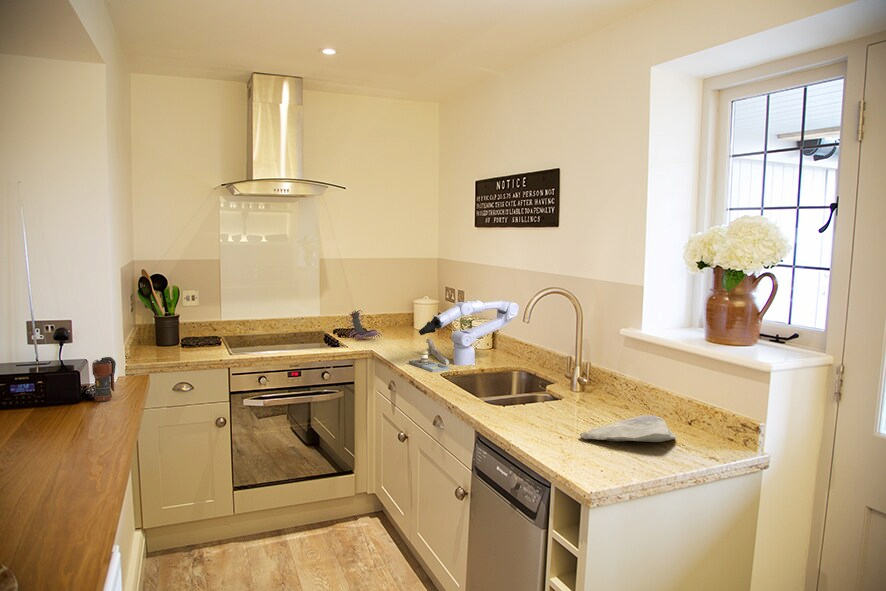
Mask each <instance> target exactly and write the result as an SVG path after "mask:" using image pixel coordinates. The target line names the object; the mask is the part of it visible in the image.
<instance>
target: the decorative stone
mask: <svg viewBox="0 0 886 591" xmlns="http://www.w3.org/2000/svg"><path fill="white" fill-rule="evenodd" d="M579 436H580V438H582V439H585V440H602V441H603V440H606V441H609V442H611V443H612V442H613V443H615V442H632V441H633V442H646V443H661V442H663V443H664V442H666V441H672V440H676V439H677V438H678V437H677V436H676V434H675V433H673V432H672V430H670V428H669V427H668V425H667V423H666V421H665V420H664V419H663V418H662V417H661V416H657V415H653V414H640V415H637V416H635V417H630V418H627V419H626V418H625V419H621V420H617V421H615V422H613V423H612V424H609V425H601V426H600V425H599V426H597V427H594V428H592V429H590V430H589V431H588V432H581V433H580V434H579Z"/></svg>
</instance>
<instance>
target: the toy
mask: <svg viewBox="0 0 886 591" xmlns="http://www.w3.org/2000/svg"><path fill="white" fill-rule="evenodd" d="M361 313H362V314H364V313H363V311H362V310H361V309H359V310H357V311H356V310H354V311H351V313H350V312H349V313H348V314H349V315H350V316H349V317H350V318H351V319H352V320H350V319H348V316H345V318H346V320H347V321H348V322H350V323H352V324H351V325H348V326H347V327H346V328H347V329H349V328H350V327H353V328H354V329H353V330H352V331H351V332H350V333H349V339H350V338H351V337H352V335H354V337H353V339H355V340H360V341H361V340H363V339H365V338H369V337H370V338H371V339H378V338H379V339H380V338H381V337H383V335H382V334H381V332H378V331H377V330H376V329H370V330H368V331H365V330H364V328H363V327H364V325H363V324H362V323H360V322H361V321H362V320H363V319H364V318H363V316H362V315H361ZM360 317H361V319H360ZM355 334H356V335H355Z"/></svg>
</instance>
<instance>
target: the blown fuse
mask: <svg viewBox="0 0 886 591" xmlns="http://www.w3.org/2000/svg"><path fill="white" fill-rule="evenodd" d="M428 356H429V353H428V351H427V350H421V351H420V360H421V364H428V361H429V357H428Z"/></svg>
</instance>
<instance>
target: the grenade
mask: <svg viewBox="0 0 886 591" xmlns="http://www.w3.org/2000/svg"><path fill="white" fill-rule="evenodd" d="M116 366H117V363H116V360H115V359H114V358H113V357H112V356H104V357H101V358H100V360H99V359H96V360H94V361H93V362H92V367H91V368H92V376H93V377H94V390H95V391H94V397H93V398H94V399H93V400H95V402H98V403H103V402H109V401H111V399H112V397H113V395H112V392H115V373H116Z"/></svg>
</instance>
